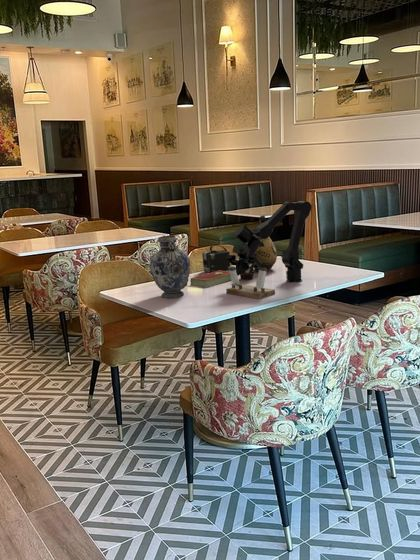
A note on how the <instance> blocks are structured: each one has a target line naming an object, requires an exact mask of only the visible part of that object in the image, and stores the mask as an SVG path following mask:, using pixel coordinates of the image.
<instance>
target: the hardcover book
mask: <svg viewBox="0 0 420 560" xmlns="http://www.w3.org/2000/svg"><path fill="white" fill-rule="evenodd" d="M228 281H229V282H230V281H232V280H231V277H230V273H229V271H215V272H212V273H205V274H200V275H197V276H193V277H190V285H191V286H199V287H200V286H201V287H206V288H209V287H212V286H215V285H219V284H222V283H225V282H226V283H227V282H228Z"/></svg>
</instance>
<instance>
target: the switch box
mask: <svg viewBox="0 0 420 560" xmlns="http://www.w3.org/2000/svg"><path fill="white" fill-rule="evenodd" d="M226 294H229V295H233V296H234V295H235V296H240V297H243V298H244V297H245V298H252V299H256V300H260V299H264V298H266V297H269V296H272V295H273V296H274V295H275V294H276V290H275V289H273V288H269V287H268V288H266V287H263V288H262V289H258V288H256V285H249V284H240V285H239V286H233V283H232V284H231V287H229V288H226Z"/></svg>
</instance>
